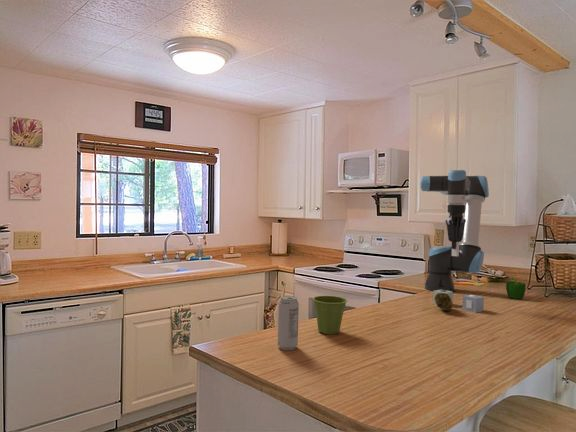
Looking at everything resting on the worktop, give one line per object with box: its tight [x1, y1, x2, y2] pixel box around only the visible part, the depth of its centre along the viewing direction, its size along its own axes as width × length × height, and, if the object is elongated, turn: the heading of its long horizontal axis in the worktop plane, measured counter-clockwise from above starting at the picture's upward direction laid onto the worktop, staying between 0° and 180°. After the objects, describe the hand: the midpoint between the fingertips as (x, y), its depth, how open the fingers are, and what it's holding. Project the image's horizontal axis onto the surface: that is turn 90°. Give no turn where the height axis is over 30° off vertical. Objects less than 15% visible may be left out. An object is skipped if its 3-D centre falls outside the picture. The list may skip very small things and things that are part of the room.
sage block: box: [432, 290, 454, 306], centre depth 196 cm, size 6×6×6 cm
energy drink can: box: [277, 295, 300, 351], centre depth 130 cm, size 6×6×15 cm
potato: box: [434, 293, 453, 312], centre depth 184 cm, size 8×13×8 cm, turn 137°
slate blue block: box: [462, 294, 485, 314], centre depth 186 cm, size 6×6×6 cm
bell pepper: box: [505, 277, 527, 300], centre depth 214 cm, size 8×8×10 cm
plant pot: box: [312, 295, 349, 336], centre depth 148 cm, size 12×12×11 cm
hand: (455, 255), depth 198 cm, fingers closed
